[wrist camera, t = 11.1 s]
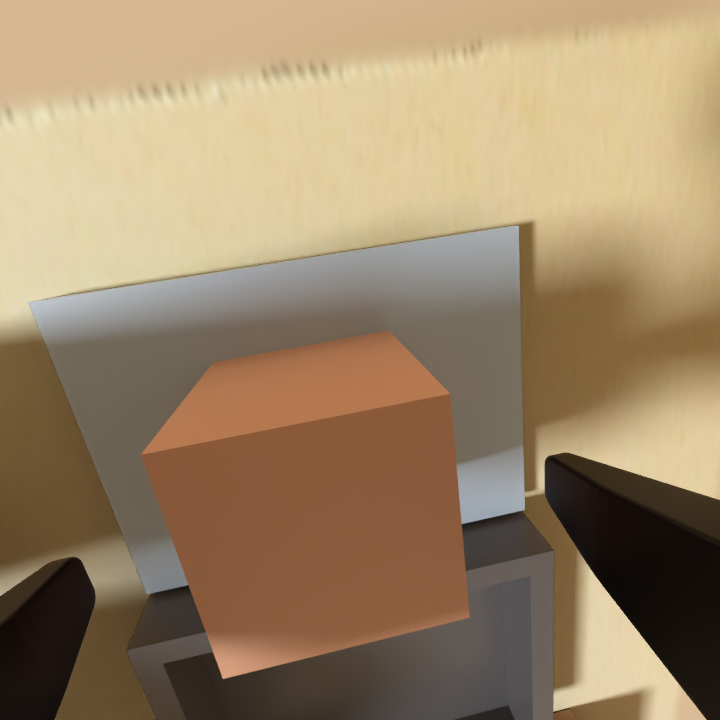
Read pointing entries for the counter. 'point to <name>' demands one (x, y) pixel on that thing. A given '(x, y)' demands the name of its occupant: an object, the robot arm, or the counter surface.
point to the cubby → (564, 715)
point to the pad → (289, 330)
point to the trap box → (380, 652)
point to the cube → (313, 500)
